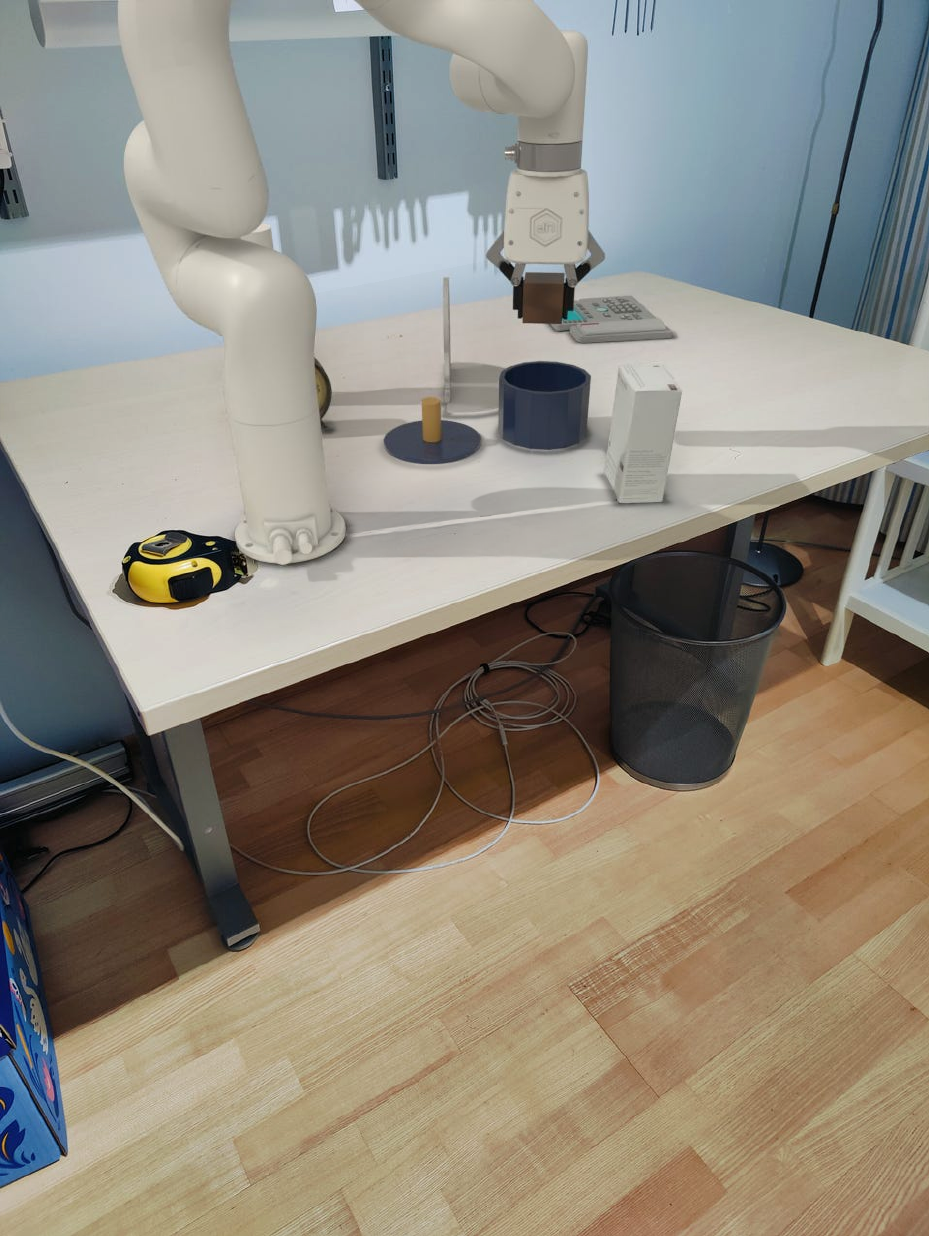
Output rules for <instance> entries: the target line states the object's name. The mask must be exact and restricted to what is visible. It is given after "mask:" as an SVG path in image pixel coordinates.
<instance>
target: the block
mask: <svg viewBox="0 0 929 1236" xmlns="http://www.w3.org/2000/svg"><path fill="white" fill-rule="evenodd" d="M565 278H566V273H565V272H543V271H542V272H537V271H533V272H532V271H525V273H524V283H523V318H522V322H521V323H522V324H535V325H536V324H539V325H541V324H542V325H550V324H562V312H563V293H564V283H565Z"/></svg>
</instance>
